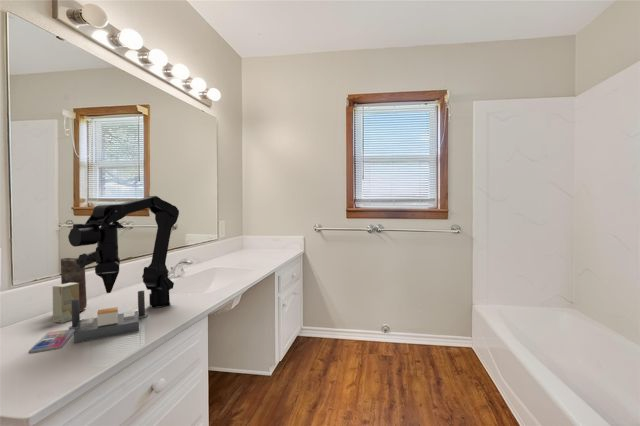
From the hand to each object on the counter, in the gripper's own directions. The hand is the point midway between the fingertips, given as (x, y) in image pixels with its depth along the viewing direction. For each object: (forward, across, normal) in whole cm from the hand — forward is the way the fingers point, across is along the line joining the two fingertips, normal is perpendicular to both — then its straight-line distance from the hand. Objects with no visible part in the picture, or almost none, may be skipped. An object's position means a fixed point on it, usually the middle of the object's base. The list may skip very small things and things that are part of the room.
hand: (109, 289), depth 106 cm
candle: (+11, -23, -12) cm, 28 cm away
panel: (+11, +8, 0) cm, 13 cm away
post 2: (+11, -1, +9) cm, 14 cm away
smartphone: (+12, +8, -13) cm, 19 cm away
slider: (+8, +11, 0) cm, 13 cm away
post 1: (+11, -1, -9) cm, 14 cm away
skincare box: (+11, -13, -13) cm, 22 cm away
